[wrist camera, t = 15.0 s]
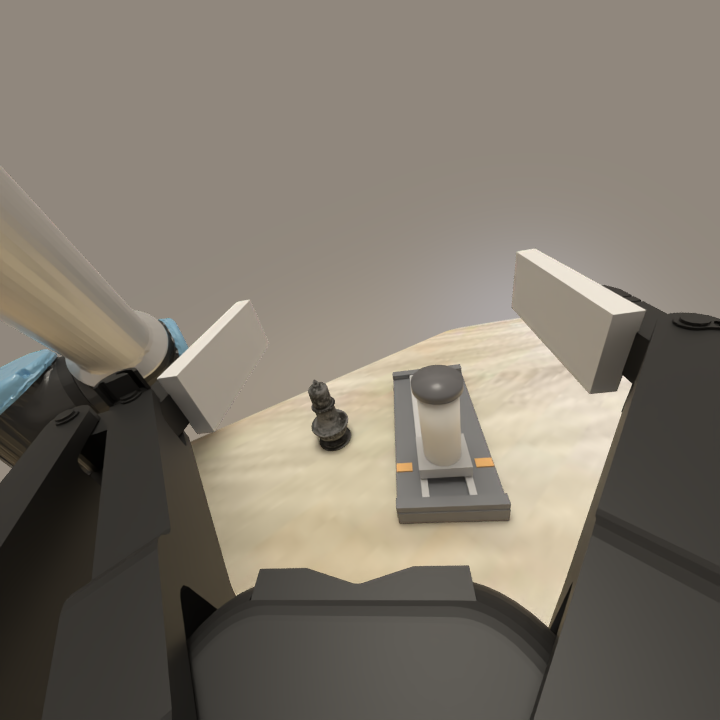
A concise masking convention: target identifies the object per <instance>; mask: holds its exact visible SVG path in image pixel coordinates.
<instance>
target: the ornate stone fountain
mask: <svg viewBox="0 0 720 720" xmlns="http://www.w3.org/2000/svg"><path fill="white" fill-rule="evenodd" d="M308 393H309V396H310V399H311V401H312V407H311V408H312V410H313V411H314V412H315V413H316V415H317V417H316V418H315V419H314V421H313V423H312V431H313V433H314V434H315V435H317V436H318V437H319V438H320V445H321V447H322V448H323V449H325V450H328V451H335V450H339V449H341V448H343V447H345V446H346V445H347V444H348V442H349V441H350V439H351V432H350V430H349V429H348V428H347V423H348V416H347V414H346V413H345V412H344V411H342V410H338V409H335V406H334V404H335V400H334V398H332V397H331V396H330V393H329V390H328V388H327V385H326V384H325V383H323V382H317V381H316V380H314V381H313V384H312V385H311V386H310V388H309V390H308Z"/></svg>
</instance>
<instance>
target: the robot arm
mask: <svg viewBox="0 0 720 720" xmlns="http://www.w3.org/2000/svg"><path fill="white" fill-rule="evenodd" d="M512 309H513V310H514V311H515V312H516V313H517V314H518V315H519V316H520V318H521V319H522V320H523V321H524V322H525V323H526V324H527V325H528V326H529V328H530V329H531V330H532V331H533V332H534V333H535V334H536V335H537V336H538V338H539V339H540V340H541V341H542V342H543V343H544V344H545V345H546V346H547V347H548V349H549V350H550V351H551V352H552V353H553V354H554V355H555V356H556V357H557V359H558V360H559V361H560V362H561V363H562V364H563V365H564V366H565V367H566V369H567V370H568V371H569V372H570V373H571V374H572V375H573V376H574V377H575V379H576V380H577V381H578V382H579V383H580V384H581V385H582V386H583V387H584V388H585V390H586V391H587V392H588V393H589V394H595V393H605V392H615V391H617V389H618V387H619V384H620V381H621V378H622V376H624V377H626V378H627V379H628V380H629V381H630V382H631V383H632V386H631V389H630V391H629V394H628V396H627V399H626V401H625V404H624V406H623V409H622V411H621V412H622V414H621V417H620V420H619V423H618V426H617V429H616V432H615V435H614V438H613V441H612V444H611V447H610V450H609V453H608V456H607V459H606V462H605V465H604V468H603V471H602V474H601V477H600V480H599V483H598V486H597V489H596V492H595V494H594V497H593V500H592V503H591V506H590V509H589V512H588V515H587V518H586V521H585V524H584V527H583V530H582V533H581V536H580V539H579V542H578V545H577V548H576V551H575V554H574V557H573V560H572V563H571V566H570V569H569V572H568V575H567V578H566V580H565V583H564V586H563V589H562V592H561V594H560V597H559V600H558V602H557V605H556V608H555V610H554V613H553V616H552V619H551V622H550V625H549V627H547V626H546V625H545V624H544V623H542V622H541V621H540V620H539V619H538V618H537V617H536V616H534V615H533V614H532V613H531V612H529V611H528V610H527V609H525V608H524V607H523V606H521V605H520V604H518V603H517V602H516V601H514V600H512V599H510V598H509V597H507V596H505V595H503V594H502V593H500V592H498V591H496V590H493V589H491V588H489V587H486V586H484V585H481V584H477V583H474V582H472V577H471V573H470V568H469V566H413V567H410V568H407V569H404V570H401V571H398V572H395V573H392V574H389V575H385V576H382V577H379V578H376V579H373V580H370V581H367V582H364V583H360V584H354V583H350V582H347V581H344V580H341V579H338V578H335V577H332V576H329V575H326V574H323V573H320V572H317V571H314V570H311V569H308V568H287V569H260V571H259V574H258V578H257V581H256V584H255V587H252V588H250V589H248V590H246V591H244V592H242V593H240V594H239V595H237V596H236V595H235V593H234V591H233V589H232V587H231V584H230V581H229V577H228V574H227V570H226V567H225V563H224V559H223V556H222V552H221V549H220V545H219V542H218V538H217V535H216V531H215V528H214V524H213V521H212V517H211V514H210V510H209V507H208V503H207V500H206V496H205V492H204V489H203V485H202V482H201V478H200V475H199V471H198V468H197V464H196V461H195V457H194V454H193V450H192V447H191V443H190V440H189V437H188V436H187V434H186V433H185V432H184V429H185V428H186V427H187V425H188V424H189V423H190V425H191V426H192V428H193V429H194V430H195V432H196V433H197V434H201V433H211V432H215V431H216V429H217V428H218V426H219V425H220V423H221V421H222V420H223V418H224V416H225V415H226V413H227V412H228V410H229V408H230V407H231V405H232V403H233V402H234V400H235V398H236V397H237V396H238V394H239V392H240V391H241V389H242V388H243V386H244V384H245V383H246V381H247V379H248V378H249V376H250V375H251V373H252V371H253V370H254V368H255V367H256V365H257V363H258V362H259V360H260V359H261V357H262V355H263V354H264V352H265V351H266V349H267V347H268V346H269V342H268V340H267V337H266V335H265V333H264V330H263V328H262V326H261V323H260V321H259V319H258V316H257V314H256V312H255V310H254V307H253V305H252V303H251V300H245V301H240V302H236V303H235V305H233V306H232V307H231V308H230V309H229V310H228V311H227V312H226V313H225V314H224V315H223V316H222V317H221V318H220V319H219V320H218V321H217V322H215V323H214V324H213V326H211V327H210V329H208V330H207V331H206V332H205V333H204V334H203V335H202V336H201V337H200V338H199V339H198V340H197V341H196V342H195V343H194V344H193V345H191V346H190V348H188V346H187V344H186V341H185V340H184V337H183V336H182V334H181V332H180V330H179V328H178V326H177V324H176V323H175V322H174V320H172V319H170V318H166V319H159V320H157V319H156V318H154V317H153V316H151V315H149V314H147V313H144V312H140V311H136V310H132V309H131V308H130V307H129V306H128V304H127V303H126V302H125V301H124V300H123V299H122V298H121V297H120V296H119V294H118V293H117V292H116V291H115V290H114V289H113V288H112V287H111V286H110V285H109V283H108V282H107V281H106V280H105V279H104V278H103V277H102V276H101V275H100V274H99V273H98V271H97V270H95V268H94V267H93V266H92V265H91V264H90V263H89V262H88V261H87V260H86V258H85V257H84V256H83V255H82V254H81V253H80V252H79V251H78V250H77V248H76V247H75V246H74V245H73V244H72V243H71V242H70V241H69V240H68V239H67V238H66V236H65V235H64V234H63V233H62V232H61V231H60V230H59V229H58V228H57V227H56V225H55V224H54V223H53V222H52V221H51V220H50V219H49V218H48V217H47V216H46V215H45V213H44V212H43V211H42V210H41V209H40V208H39V207H38V206H37V205H36V204H35V203H34V201H33V200H32V199H31V198H30V197H29V196H28V195H27V194H26V193H25V192H24V190H22V189H21V187H20V186H19V185H18V184H17V183H16V182H15V181H14V180H13V178H12V177H11V176H10V175H9V174H8V173H7V172H6V171H5V170H4V169H3V167H2V166H1V165H0V321H2V322H4V323H5V324H7V325H9V326H11V327H12V328H14V329H16V330H18V331H19V332H21V333H23V334H25V335H26V336H28V337H30V338H32V339H34V340H35V341H37V342H39V343H41V344H42V345H44V346H46V347H48V348H50V349H51V350H53V351H55V352H57V353H58V354H60V355H62V357H57V354H56V353H54V352H52V351H50V350H47V349H45V350H40V351H36V352H33V353H30V354H28V355H25V356H23V357H21V358H19V359H16V360H14V361H12V362H10V363H9V364H6V365H5V366H2V367H1V368H0V460H1V461H3V462H4V463H5V464H7V465H8V466H9V467H11V468H12V469H11V470H10V472H9V473H8V474H7V475H6V476H5V478H4V479H3V480H2V481H1V483H0V720H720V319H718V318H715V317H712V316H709V315H702V314H696V313H670V314H666V313H665V312H663V311H661V310H659V309H657V308H655V307H653V306H651V305H649V304H647V303H645V302H644V301H643V302H641V300H640V299H638V298H636V297H634V296H633V297H632V296H631V295H630V294H628V293H626V292H624V291H623V290H621V289H617V288H614V287H610V286H606V285H600V284H598V283H596V282H594V281H593V280H591V279H589V278H587V277H585V276H583V275H582V274H580V273H578V272H576V271H574V270H573V269H571V268H569V267H567V266H565V265H563V264H562V263H560V262H558V261H556V260H555V259H553V258H551V257H549V256H547V255H545V254H544V253H542V252H540V251H538V250H536V249H530V250H523V251H518V252H517V253H516V264H515V275H514V286H513V297H512Z"/></svg>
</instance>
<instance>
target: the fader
mask: <svg viewBox="0 0 720 720" xmlns="http://www.w3.org/2000/svg"><path fill="white" fill-rule="evenodd" d="M463 389H464V386H463V376H462V374H461V373H460V372H459V371H458V370H456V369H454V368H452V367H449V366H445V365H432V366H427V367H424V368H421V369H420V370H418V371H416V372H415V373H414V374H413V376H412V377H411V390H412V393H413V395H414V397H415V398H416V399H417V405H418V413H419V420H420V428H421V435H422V437H416V446H417V455H418V465H419V473H420V479H424V478H442V477H460V476H473V465H472V462H471V458H470V455H469V451H468V448H467V444H466V441H465V437H464V434H463V433H461V426H460V396H461V394H462V393H463Z"/></svg>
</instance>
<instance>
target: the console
mask: <svg viewBox="0 0 720 720" xmlns="http://www.w3.org/2000/svg"><path fill="white" fill-rule="evenodd" d="M449 367H452V368H454V369H456V370H458V371H459V372H460V373H461V366H460V364H458V365H450V366H449ZM418 370H420V369H417V370H409V371H400V372H393V380H394V413H395V446H396V480H397V498H396V509H397V514H398V518H399V522H400V523H433V522H467V521H502V520H509V519H510V511H511V510H510V507H511V503H510V500H509V498H508V495H507V493H504V491H503V488H502V485H501V482H500V479H499V477H498V474H497V471H496V468H495V465H494V463H493V460H492V457H491V454H490V451H489V449H488V446H487V443H486V440H485V437H484V435H483V432H482V429H481V426H480V424H479V421H478V418H477V415H476V412H475V410H474V407H473V404H472V401H471V398H470V396H469V393H468V390H467V387H466V384H465V382H464V379H463V386H464V389H463V393H462V394H461V396H460V426H461V433H463V434H464V437H465V441H466V444H467V448H468V451H469V455H470V458H471V462H472V465H473V476H460V477H442V478H424V479H420V473H419V465H418V455H417V446H416V437H422V435H421V428H420V420H419V413H418V405H417V399H416V398H415V397H414V395H413V393H412V390H411V377H412V376H413V374H414V373H415V372H416V371H418ZM461 374H462V373H461Z"/></svg>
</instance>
